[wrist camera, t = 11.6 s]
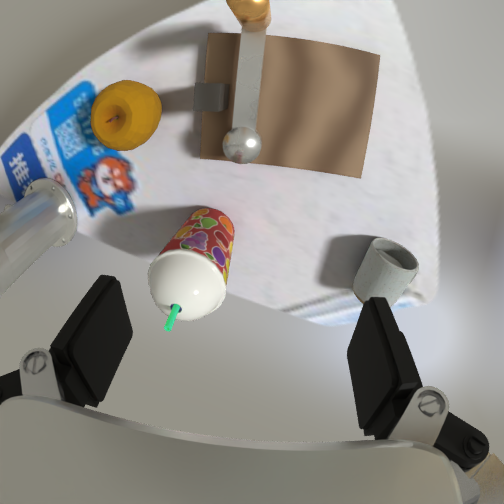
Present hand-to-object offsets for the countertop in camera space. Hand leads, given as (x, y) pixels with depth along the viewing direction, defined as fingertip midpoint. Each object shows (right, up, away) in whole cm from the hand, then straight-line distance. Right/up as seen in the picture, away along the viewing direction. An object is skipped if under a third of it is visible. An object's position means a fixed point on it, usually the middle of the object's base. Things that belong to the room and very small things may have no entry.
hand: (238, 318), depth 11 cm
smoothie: (-5, +6, +31) cm, 32 cm away
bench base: (+5, +20, +22) cm, 30 cm away
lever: (0, +20, +17) cm, 27 cm away
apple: (-14, +21, +23) cm, 34 cm away
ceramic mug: (+21, +1, +32) cm, 38 cm away
